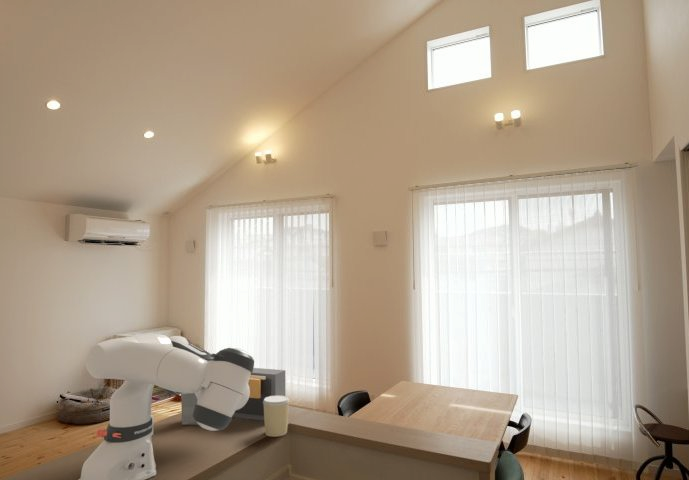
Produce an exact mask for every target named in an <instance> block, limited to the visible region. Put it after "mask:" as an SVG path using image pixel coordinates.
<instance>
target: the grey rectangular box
mask: <svg viewBox="0 0 689 480" xmlns="http://www.w3.org/2000/svg"><path fill="white" fill-rule="evenodd" d="M250 378H254V379H261V398H259V399H258V398H249V399H248V401H247V403H246V404H245V405H244V406H243V407H242V408H240V409H238V410H236V411H235V413H234V414H233V416H232V418H240V419H247V420H256V421H263V422H265V421H264V404H263V401H264V399H265V398H266V397H269V396H277V395H280V396H286V370H285V369H274V368H273V369H272V368H260V367H254V368H253V372H252V373H251V375H250Z"/></svg>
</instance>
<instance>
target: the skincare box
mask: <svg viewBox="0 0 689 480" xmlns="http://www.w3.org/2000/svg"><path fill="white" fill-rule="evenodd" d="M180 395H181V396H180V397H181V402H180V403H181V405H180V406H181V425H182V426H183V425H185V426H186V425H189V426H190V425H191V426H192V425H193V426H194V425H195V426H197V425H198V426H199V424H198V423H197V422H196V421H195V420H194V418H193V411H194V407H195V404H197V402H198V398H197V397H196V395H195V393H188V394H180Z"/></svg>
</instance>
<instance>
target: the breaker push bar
mask: <svg viewBox="0 0 689 480" xmlns="http://www.w3.org/2000/svg"><path fill="white" fill-rule="evenodd" d="M248 385H249V388H250V396H249V398H258V399H259V398H261V379H254V378H250V379H249V382H248Z"/></svg>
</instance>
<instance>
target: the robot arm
mask: <svg viewBox="0 0 689 480" xmlns="http://www.w3.org/2000/svg"><path fill="white" fill-rule="evenodd" d="M84 362H85V368H86V371H87V372H88V373H89V375H90V376H91V377H92V378H94V379H98V380H99V379H104V380H107V379H109V380H110V379H111V380H112V379H113V380H121V381H123V383H122V384H121V386H119V387H118V388H117V389H116V390H115V391H114V392H113V393H112V395H111V397H110V400H109V422H108V425H107V427H106V429H101V428H99V429H97V431H96V432H95V435H96V437H99V438H100V437H101V438H103V441H102V442H101V443H100V444H99V445H98V446H97V447H96V448H95V450H94V451H93V452H92V453H91V454H90V455H89V456H88V458H87V459H86V460H85V461H84V463H83V465H82V467H81V472H80V478H79V479H78V480H147V479H150V478H153V477H154V476H156V475H157V469H156V468H157V464H156V461H155V456H154V449H153V439H152V436H151V432H152V426H153V427H154V423H153V424H152V418H151V415H152V399H153V391H154V387H155V386H157V387H159V388H161V390H163V391H164V392H166V394H170V395H181V394H188V393H195V395H196V397H197V398H198V402H197V404H195V407H194V411H193V418H194V420H195V421H196V422H197V423H198V426H199V427H201V428H202V429H205V430H207V431H222V430H224V429H227V427H228V426H229V424H230V423H231V422H232V420H233V417H232V416H233V414H234V413H235V411H236V410H238V409H240V408H242V407H243V406H244V405H245V404H246V403H247V401H248V399H249V396H250V388H249V385H248V382H249V379H250V375H251V373H252V372H253V368H255V359H254V358H253V356H252V355H250V353H248V352H247V351H246V350H244V349H241V348H238V347H227V348H223V349H220V350H219V351H218V352H216V353H210V352H208V351H207V350H205V349H204V348H202V347H200V346H197V345H196V344H195V343H192V341H190V340H189V339H188V338H187V337H184V336H181V335H173V336H172V335H171V336H167V335H165V334H159V333H145V334H139V335H131V336H124V337H117V338H110V339H107V340H104V341H101V342H99V343H96V344H93V345H92V346H90V348H89V350H88V351H87V352H86V356H85V361H84Z"/></svg>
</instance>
